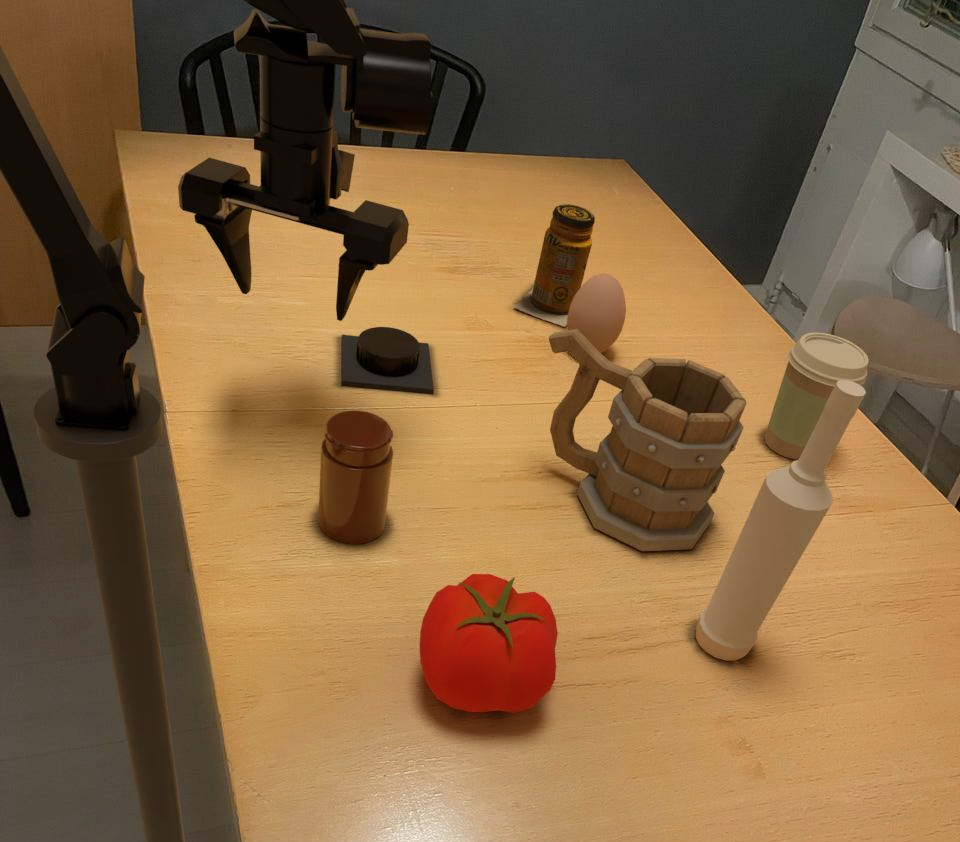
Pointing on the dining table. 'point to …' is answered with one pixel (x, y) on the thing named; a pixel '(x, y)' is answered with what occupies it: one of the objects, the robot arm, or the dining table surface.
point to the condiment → (560, 264)
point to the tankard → (649, 444)
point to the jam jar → (355, 477)
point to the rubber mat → (361, 377)
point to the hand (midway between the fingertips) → (293, 305)
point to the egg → (598, 311)
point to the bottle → (775, 535)
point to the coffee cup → (811, 388)
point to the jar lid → (387, 351)
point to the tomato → (488, 646)
